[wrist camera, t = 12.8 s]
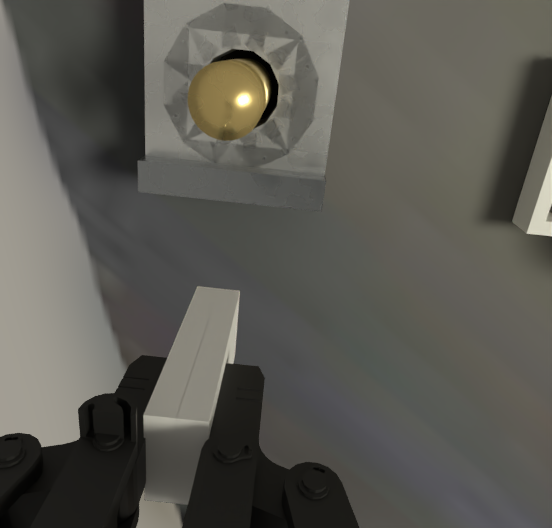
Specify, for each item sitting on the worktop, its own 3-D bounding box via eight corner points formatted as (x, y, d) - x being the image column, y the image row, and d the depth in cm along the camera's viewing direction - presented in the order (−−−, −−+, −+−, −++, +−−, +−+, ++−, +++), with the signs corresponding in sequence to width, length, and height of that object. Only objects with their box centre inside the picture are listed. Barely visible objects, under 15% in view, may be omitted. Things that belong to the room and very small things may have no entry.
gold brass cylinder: (269, 118, 40) (259, 144, 29) (216, 112, 40) (186, 136, 29) (274, 61, 38) (266, 65, 27) (219, 55, 38) (188, 56, 27)
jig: (317, 193, 42) (321, 214, 37) (158, 175, 42) (138, 194, 37) (347, -17, 36) (356, -29, 30) (159, -38, 36) (134, -53, 30)
